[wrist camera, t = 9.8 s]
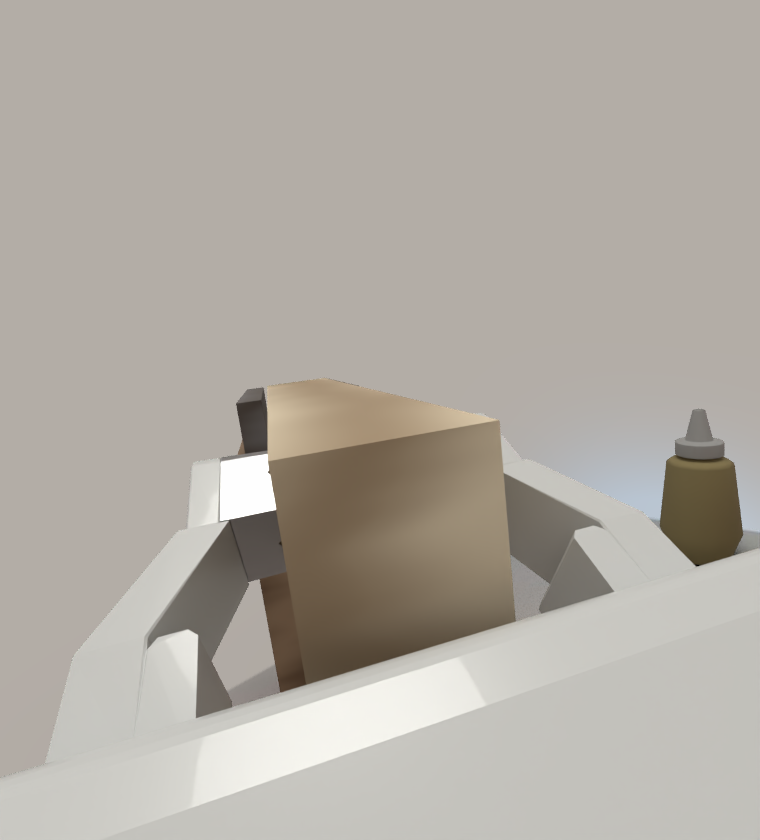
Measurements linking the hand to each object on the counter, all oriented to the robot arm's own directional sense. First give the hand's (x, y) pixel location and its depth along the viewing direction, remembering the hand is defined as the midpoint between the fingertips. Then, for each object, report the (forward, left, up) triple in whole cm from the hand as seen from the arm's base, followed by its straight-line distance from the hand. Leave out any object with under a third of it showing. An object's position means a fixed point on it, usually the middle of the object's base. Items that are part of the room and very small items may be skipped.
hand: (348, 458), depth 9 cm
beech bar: (0, +5, -2) cm, 6 cm away
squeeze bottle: (+45, +29, -27) cm, 61 cm away
